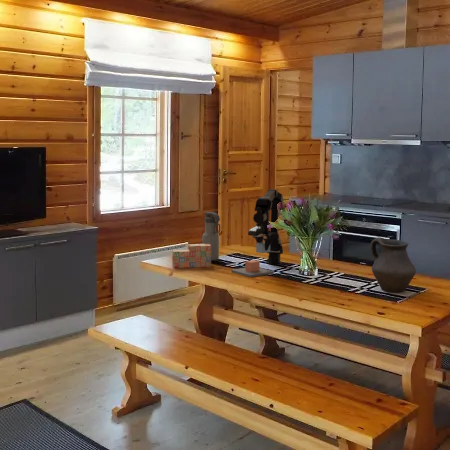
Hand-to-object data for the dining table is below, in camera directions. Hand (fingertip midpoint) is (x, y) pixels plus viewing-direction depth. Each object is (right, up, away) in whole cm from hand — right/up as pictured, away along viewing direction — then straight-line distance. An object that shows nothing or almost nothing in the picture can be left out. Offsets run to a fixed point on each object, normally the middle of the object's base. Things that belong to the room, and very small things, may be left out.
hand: (263, 250), depth 344 cm
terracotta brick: (-6, -11, +1) cm, 12 cm away
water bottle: (-29, -7, +37) cm, 47 cm away
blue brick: (0, -1, 0) cm, 1 cm away
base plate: (-6, -12, +1) cm, 14 cm away
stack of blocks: (-39, -10, +17) cm, 44 cm away
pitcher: (+60, -18, -35) cm, 71 cm away
